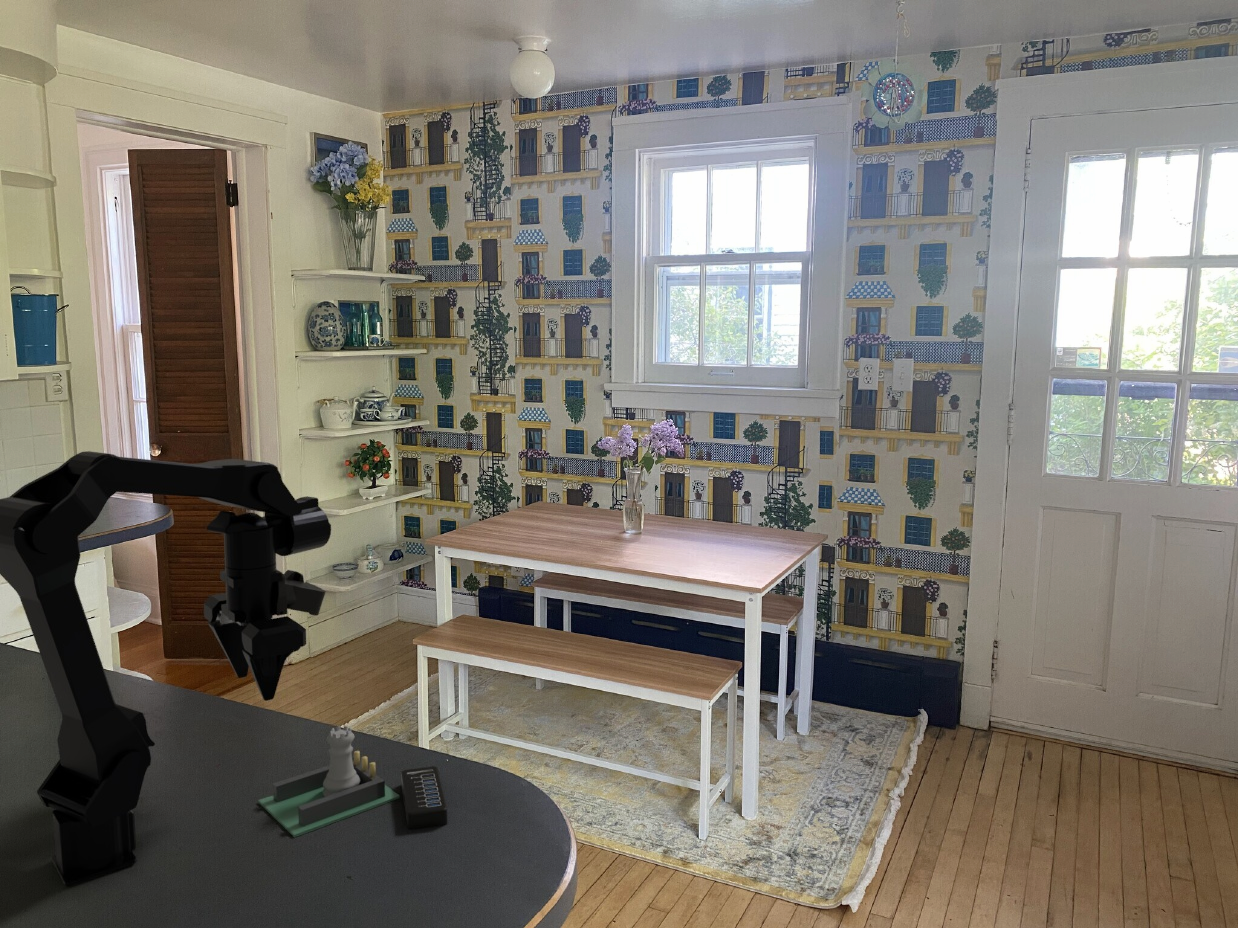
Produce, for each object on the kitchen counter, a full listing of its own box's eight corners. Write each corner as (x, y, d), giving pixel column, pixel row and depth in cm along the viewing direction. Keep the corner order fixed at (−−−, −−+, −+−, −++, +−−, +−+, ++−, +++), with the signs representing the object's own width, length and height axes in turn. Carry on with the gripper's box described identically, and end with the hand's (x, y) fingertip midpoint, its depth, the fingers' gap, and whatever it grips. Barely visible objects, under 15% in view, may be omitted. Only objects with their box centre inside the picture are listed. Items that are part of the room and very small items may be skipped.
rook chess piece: (314, 796, 108) (312, 732, 107) (342, 780, 112) (340, 719, 111) (341, 806, 106) (340, 741, 105) (369, 790, 110) (367, 727, 108)
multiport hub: (408, 833, 101) (407, 814, 101) (401, 786, 112) (400, 769, 112) (447, 827, 103) (447, 808, 102) (437, 782, 113) (437, 764, 113)
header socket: (294, 837, 100) (292, 804, 99) (258, 802, 107) (257, 771, 106) (399, 797, 108) (399, 767, 108) (360, 768, 116) (359, 739, 115)
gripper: (347, 569, 107) (350, 695, 109) (288, 541, 121) (291, 653, 123) (251, 584, 100) (256, 719, 102) (200, 552, 114) (205, 671, 116)
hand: (255, 687), depth 111 cm, fingers open, 9 cm apart
